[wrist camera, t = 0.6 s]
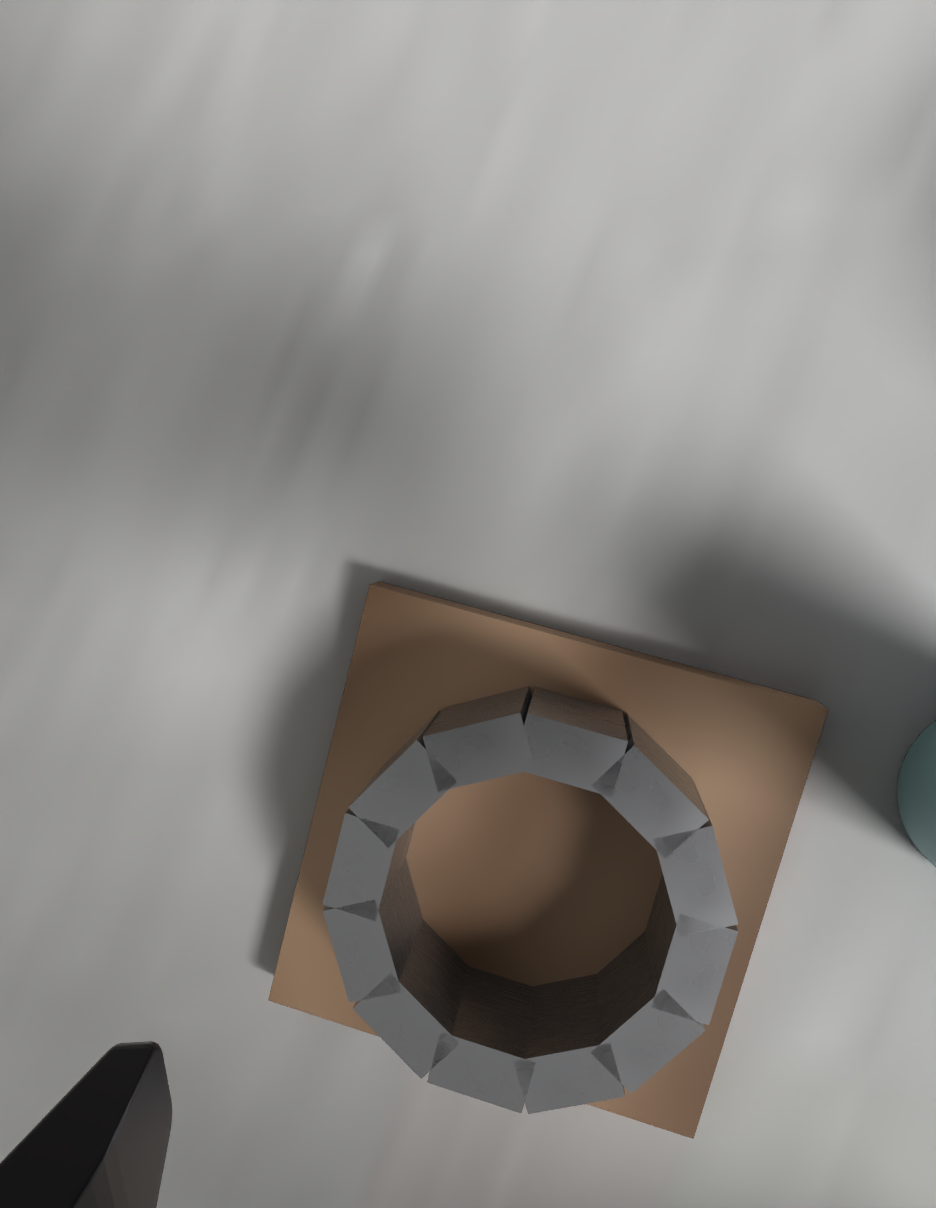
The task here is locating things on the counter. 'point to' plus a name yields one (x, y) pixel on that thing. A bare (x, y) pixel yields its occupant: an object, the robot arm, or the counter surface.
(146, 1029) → the counter surface
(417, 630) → the base board
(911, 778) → the peg
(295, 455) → the counter surface
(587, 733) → the collar
